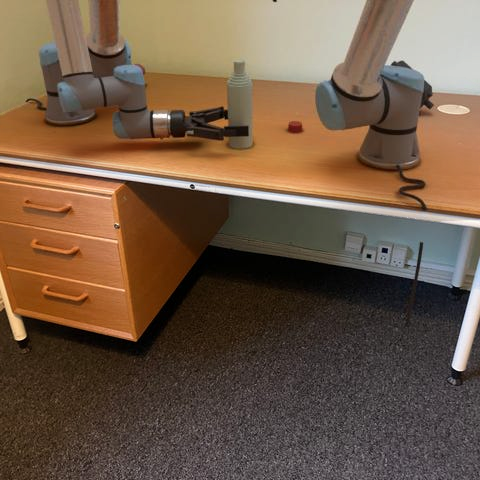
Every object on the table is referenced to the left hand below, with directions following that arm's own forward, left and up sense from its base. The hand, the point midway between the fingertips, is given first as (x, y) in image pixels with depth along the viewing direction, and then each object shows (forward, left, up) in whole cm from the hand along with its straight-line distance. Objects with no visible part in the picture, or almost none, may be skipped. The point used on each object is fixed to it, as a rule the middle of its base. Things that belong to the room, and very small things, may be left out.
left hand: (248, 122), depth 146 cm
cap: (+9, +15, -5) cm, 18 cm away
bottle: (-2, -1, -6) cm, 7 cm away
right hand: (+9, +15, +29) cm, 34 cm away
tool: (+34, +46, -6) cm, 57 cm away
